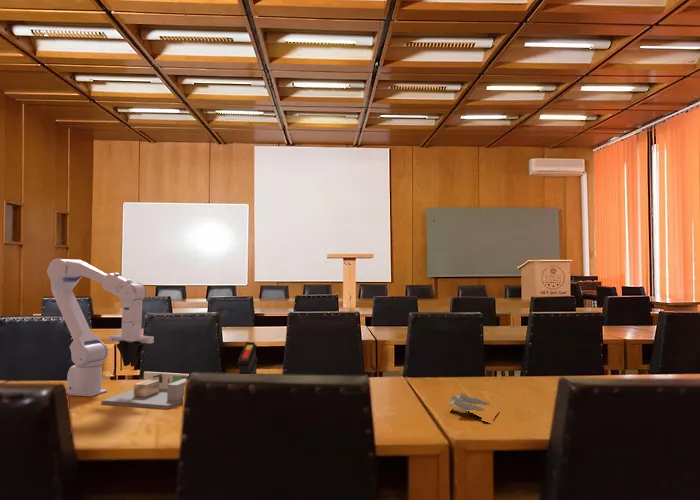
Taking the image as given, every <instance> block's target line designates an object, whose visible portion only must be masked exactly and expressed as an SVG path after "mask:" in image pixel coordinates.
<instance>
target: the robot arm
mask: <svg viewBox="0 0 700 500" xmlns="http://www.w3.org/2000/svg"><path fill="white" fill-rule="evenodd" d="M46 274H47V276H48V278H49V281H50V289H51V293H52V296H53V298H54V300H55V302H56V304H57V307H58V309H59V311H60V313H61V316H62V317H63V320H64V323H65V324H66V326H67V327H66V328H67V329H68V330H69V333H70V335H71V338H72V339H73V340H72V342H71V343H70V345H69V350H70V352H71V357H70V358H71V361H72V362H73V363H74V365H72V366H70V367H69V369H68V372H67V375H66V378H67V379H66V393H67V392H68V395H67V396H77V397H78V396H79V397H94V396H96V395H99V394H103V393H106V392H108V389H102V383H103V382H102V379H103V376H102V375H103V364H104V360H105V359H107V357H108V353H109V350H108V346H107V345H106V344H105V343H104V342H103V341H102V340H101V338H100V336H98V334H95V333H93V332H92V331H91V328H90V326H89V323H88V322H87V320H86V317H85V315H84V313H83V311H82V308H81V307H80V304H79V301H78V300H77V298H76V296H75V293H74V291H73V289H74V287H76V285H77V284H78V283H79V281H80V280H81V279H82V278H83V277H85V278H87V279H89V280H92V281H94V282H97V283H99V284H101V287H102V289H103V290H105V291H107V292H109V293H111V294H113V295H115V296H118V298H119V300H120V302H121V307H122V310H121V311H122V312H121V315H122V316H121V331H120V332H121V334H110V335H108V342H109V343H110V342H111V343H112V342H114V343H115V342H116V343H117V344H116V345H115V346H116V348H117V349H118V351H119V353H120V356H121V359H122V364H123V366H124V367H128V366H130V367H132V368H133V367H137V365H138V361H139V358H140V355H141V353H142V352H143V349H144V347H146V344H154V343H155V340H154V339H155V337H154V336H153V335H152V336H148V335H142V327H143V326H142V323H143V300H144V299H145V298H146V297H147V289H146V286H145V285H144V284H142V283H141V282H133V280H132V279H129V278H124V277H123V276H121V273H119V272H111V273H105V272H104V271H102V270H100V269H99V268H96V267H95V266H93V265H91V264H89V263H88V262H87V261H83V260H81V259H79V258H78V259H77V258H75V259H69V258H68V259H65V258H54V259H53V260H51V261H50V263H49V265H48V268H47V270H46Z"/></svg>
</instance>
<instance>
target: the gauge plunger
mask: <svg viewBox="0 0 700 500" xmlns="http://www.w3.org/2000/svg"><path fill="white" fill-rule="evenodd" d="M161 376H162V374H158V375H155V376H153V378H156V377H159V380H145V381H144V380H142V381H140V382H136V383H134V384H133V389H134V396H142V397H146V396H149V395H152V394H154V393H157V392H159V383H161Z"/></svg>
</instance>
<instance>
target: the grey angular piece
mask: <svg viewBox="0 0 700 500" xmlns="http://www.w3.org/2000/svg"><path fill="white" fill-rule="evenodd" d="M472 403H473V404H483V405H491V404H490V403H489V402H488V401H485V400H483V399H481V398H478V397H472V396H469V395H467V394H466V393H465V392H461V393H460V395H457V396H455V395H453V394H452V395H451V398H450V402H449V403H448V405H450V406H451V405H452V406H454V408H457V409H459V410H461V411H463V412H466V411H467V410H476V411H482V410H483V411H485V410H484V409H483V408H481V407H478V406H476V405H473V404H472Z"/></svg>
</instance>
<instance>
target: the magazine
mask: <svg viewBox="0 0 700 500" xmlns="http://www.w3.org/2000/svg"><path fill="white" fill-rule="evenodd" d="M243 346H244V347H243V348H242V351H241V353H240V355H239V358H238V362H237V363H236V366H237V367H238V369H239V372H238V374H257V362H258V357H257V352H256V350H257V347H258V345H257V344H256V343H255V342H254V341H253V342H252V341H247V342H245V344H244V345H243Z"/></svg>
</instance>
